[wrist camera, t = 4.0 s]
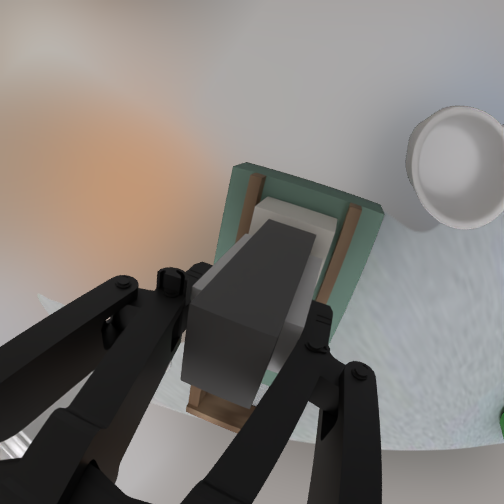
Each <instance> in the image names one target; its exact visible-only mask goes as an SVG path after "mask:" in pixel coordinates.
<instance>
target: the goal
mask: <svg viewBox="0 0 504 504" xmlns="http://www.w3.org/2000/svg"><path fill="white" fill-rule="evenodd" d="M255 408H256V407H255V406H253V405H251V408H250V409H248V408H245V407H242V406H240V405H237V404H235V403H232V402H230V401H227V400H225V399H222V398H220V397H218V396H215V395H213V394H210V393H208V392H206V391H204V390H201V389H199V388H197V387H195V386H192V385H191V388H190V396H189V403H188V405H187V407H186V412H188V413H191V414H193V415H195V416H197V417H199V418H202V419H204V420H206V421H209V422H211V423H213V424H216V425H218V426H221V427H223V428H225V429H228V430H230V431H233V432H235V433H238V432H239V431H240V430H241V428H242V427H243V425H244V424H245V422H246V421H247V420H248V418H249V417H250V415H251V414H252V412H253V411H254V409H255Z"/></svg>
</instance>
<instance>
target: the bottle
mask: <svg viewBox="0 0 504 504" xmlns="http://www.w3.org/2000/svg"><path fill="white" fill-rule="evenodd" d="M500 426H501V430H502V434H503V438H504V413H503V414H502V416H501V419H500Z"/></svg>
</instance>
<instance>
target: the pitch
mask: <svg viewBox="0 0 504 504" xmlns="http://www.w3.org/2000/svg"><path fill="white" fill-rule="evenodd" d="M253 173H259V174H262V175H266V180H265V184H264V188H263V192H262V196H261V200H260V202H261V201H262V200H264V199H265V198H266V197H267V196H268V197H272V198H275V199H278V200H281V201H285V202H288V203H291V204H294V205H297V206H300V207H303V208H306V209H309V210H312V211H315V212H318V213H321V214H324V215H327V216H330V217H333V218H336V219H337V224H336V230H335V234H334V237H333V240H332V243H331V246H330V249H329V252H328V254H327V257H326V260H325V263H324V265H323V268H322V271H321V274H320V276H319V279H318V282H317V284H316V287H315V290H314V294H313V297H312V300H314V301H315V299H316V297H317V294H318V291H319V289H320V286H321V284H322V281H323V278H324V276H325V273H326V270H327V268H328V265H329V262H330V260H331V257H332V254H333V251H334V249H335V246H336V243H337V240H338V237H339V235H340V232H341V229H342V226H343V223H344V220H345V217H346V214H347V211H348V208H349V205H350V202H351V203H354V204H357V205H359V206H362V212H361V215H360V218H359V221H358V224H357V226H356V229H355V232H354V235H353V237H352V240H351V243H350V246H349V248H348V251H347V254H346V256H345V259H344V261H343V264H342V267H341V269H340V272H339V274H338V277H337V279H336V282H335V284H334V287H333V289H332V292H331V294H330V297H329V299H328V301H327V304H326V305H329V306H330V307H331V309H332V311H333V319H332V325H331V331H330V337H329V343H330V341H331V339H332V337H333V335H334V333H335V331H336V329H337V327H338V324H339V322H340V320H341V318H342V316H343V314H344V312H345V310H346V307H347V305H348V303H349V301H350V299H351V296H352V294H353V292H354V290H355V287H356V285H357V283H358V280H359V278H360V276H361V273H362V271H363V269H364V266H365V264H366V261H367V259H368V256H369V254H370V251H371V249H372V246H373V244H374V241H375V239H376V236H377V233H378V231H379V228H380V225H381V223H382V220H383V217H384V212H383V210H382V207H381V205H380V204H377V203H374V202H372V201H369V200H366V199H363V198H361V197H358V196H355V195H352V194H349V193H346V192H343V191H340V190H337V189H334V188H331V187H328V186H325V185H322V184H319V183H316V182H313V181H310V180H306V179H303V178H300V177H297V176H293V175H290V174H287V173H283V172H280V171H276V170H273V169H269V168H266V167H262V166H258V165H255V164H251V163H248V162H246V163H242V164H239V165H236V166H233V170H232V175H231V179H230V184H229V189H228V194H227V198H226V203H225V209H224V213H223V219H222V224H221V229H220V234H219V239H218V244H217V249H216V255H215V260H214V264H215V263H216V262H217V261H218V260H219V259H220V258H221V257H222V256H223V255H224V254H225V253H226V252H227V251H228V250H229V249H230V248H231V247H232V246H233V245H235V241H236V236H237V232H238V227H239V223H240V218H241V214H242V209H243V205H244V200H245V196H246V192H247V187H248V183H249V178H250V175H251V174H253ZM329 343H328V345H329ZM277 374H278V373H275V372H273V371H270V370H266V372H265V375H264V377H263V380H262V382H261V383H263V384H265V385H268V386H270V385H271V384H272V382H273V381H274V379H275V377H276V376H277Z"/></svg>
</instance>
